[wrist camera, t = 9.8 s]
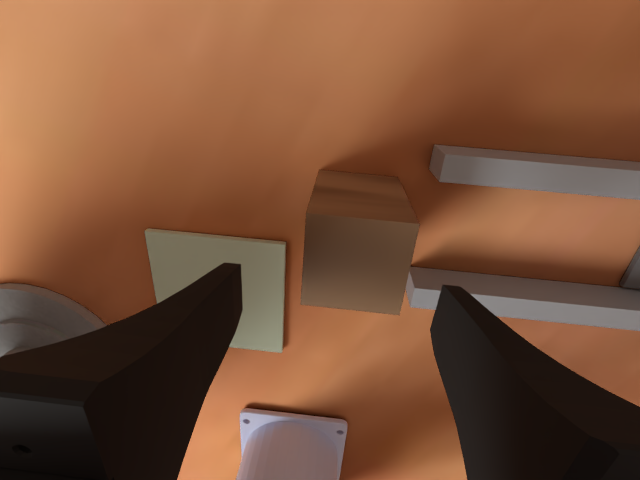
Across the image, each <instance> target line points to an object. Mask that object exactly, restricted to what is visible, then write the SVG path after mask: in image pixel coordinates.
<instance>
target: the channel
mask: <svg viewBox="0 0 640 480" xmlns="http://www.w3.org/2000/svg"><path fill="white" fill-rule="evenodd" d="M429 170H430V171H431V172H432V174H433V175H434V176H435V177H436V179H437V180H438V181H439V182H447V183H458V184H469V185H480V186H491V187H503V188H514V189H525V190H536V191H547V192H558V193H570V194H581V195H592V196H603V197H614V198H625V199H637V200H640V162H634V161H622V160H611V159H599V158H587V157H575V156H564V155H552V154H540V153H529V152H517V151H505V150H493V149H482V148H470V147H458V146H447V145H435V144H434V147H433V152H432V156H431V161H430V166H429ZM619 284H620V285H621V286H622V287H627V288H622V287H612V286H601V285H591V284H581V283H571V282H561V281H551V280H541V279H531V278H521V277H511V276H501V275H491V274H481V273H471V272H460V271H450V270H440V269H430V268H420V267H410V271H409V275H408V279H407V284H406V288H405V289H406V293H407V296H408V300H409V304H410V307H414V308H423V309H433V310H436V307H437V303H438V299H439V296H440V292H441V288H442V285H453V286H460V287H462V288H463V289H465V290H466V291H467V292H468V293H469V294H471V295H472V296H473V297H474V298H475V299H476V300H478V301H479V302H480V303H481V304H482V305H483V306H485V307H486V308H487V309H488V310H489V311H490V312H492V313H493V314H494V315H495V316H500V317H510V318H520V319H529V320H539V321H548V322H558V323H568V324H577V325H587V326H597V327H606V328H616V329H626V330H635V331H640V246H639V248H638V250H637V252H636V254H635V256H634V257H633V259H632V261H631V263H630V265H629V267H628V268H627V270H626V272H625V274H624V276H623V278H622V280H621V281H620V283H619ZM632 288H637V289H632Z"/></svg>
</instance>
